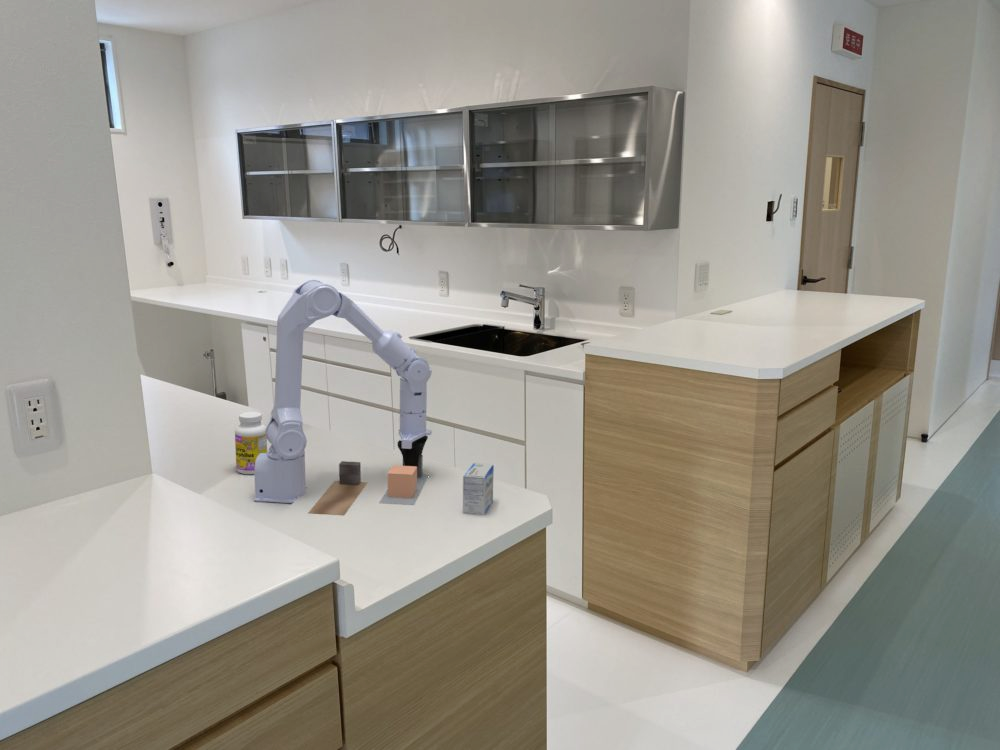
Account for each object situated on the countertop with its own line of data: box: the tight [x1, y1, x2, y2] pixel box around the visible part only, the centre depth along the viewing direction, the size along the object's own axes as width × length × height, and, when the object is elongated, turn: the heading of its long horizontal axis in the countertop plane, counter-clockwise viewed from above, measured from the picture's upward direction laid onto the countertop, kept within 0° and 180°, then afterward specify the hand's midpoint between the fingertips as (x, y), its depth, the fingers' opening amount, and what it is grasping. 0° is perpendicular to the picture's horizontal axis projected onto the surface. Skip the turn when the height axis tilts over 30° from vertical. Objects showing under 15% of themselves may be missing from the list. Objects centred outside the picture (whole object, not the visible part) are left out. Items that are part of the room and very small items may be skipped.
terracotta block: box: [387, 464, 417, 498], centre depth 153 cm, size 5×5×5 cm
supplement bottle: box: [234, 411, 268, 475], centre depth 166 cm, size 7×7×13 cm
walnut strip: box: [307, 460, 368, 516], centre depth 150 cm, size 7×18×5 cm, turn 176°
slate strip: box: [378, 454, 430, 506], centre depth 156 cm, size 7×18×5 cm, turn 176°
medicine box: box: [462, 462, 495, 516], centre depth 147 cm, size 8×4×9 cm, turn 168°
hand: (412, 470), depth 164 cm, fingers closed on slate strip, 2 cm apart
